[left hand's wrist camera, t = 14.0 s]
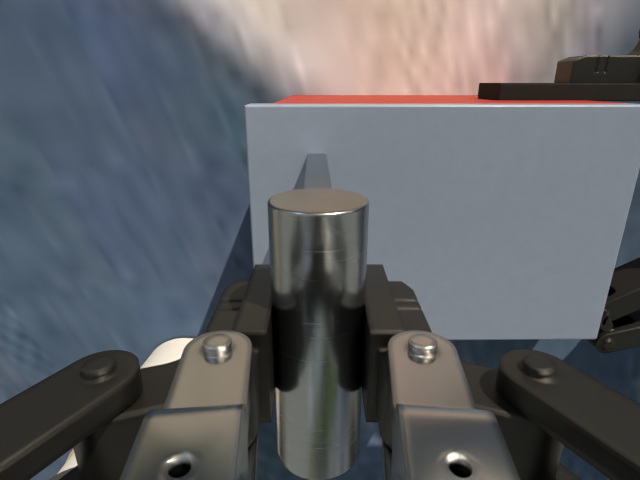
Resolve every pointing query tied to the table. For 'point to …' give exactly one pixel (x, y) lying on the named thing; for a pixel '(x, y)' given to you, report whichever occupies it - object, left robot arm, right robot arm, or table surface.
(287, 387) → the lid
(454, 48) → the table surface
